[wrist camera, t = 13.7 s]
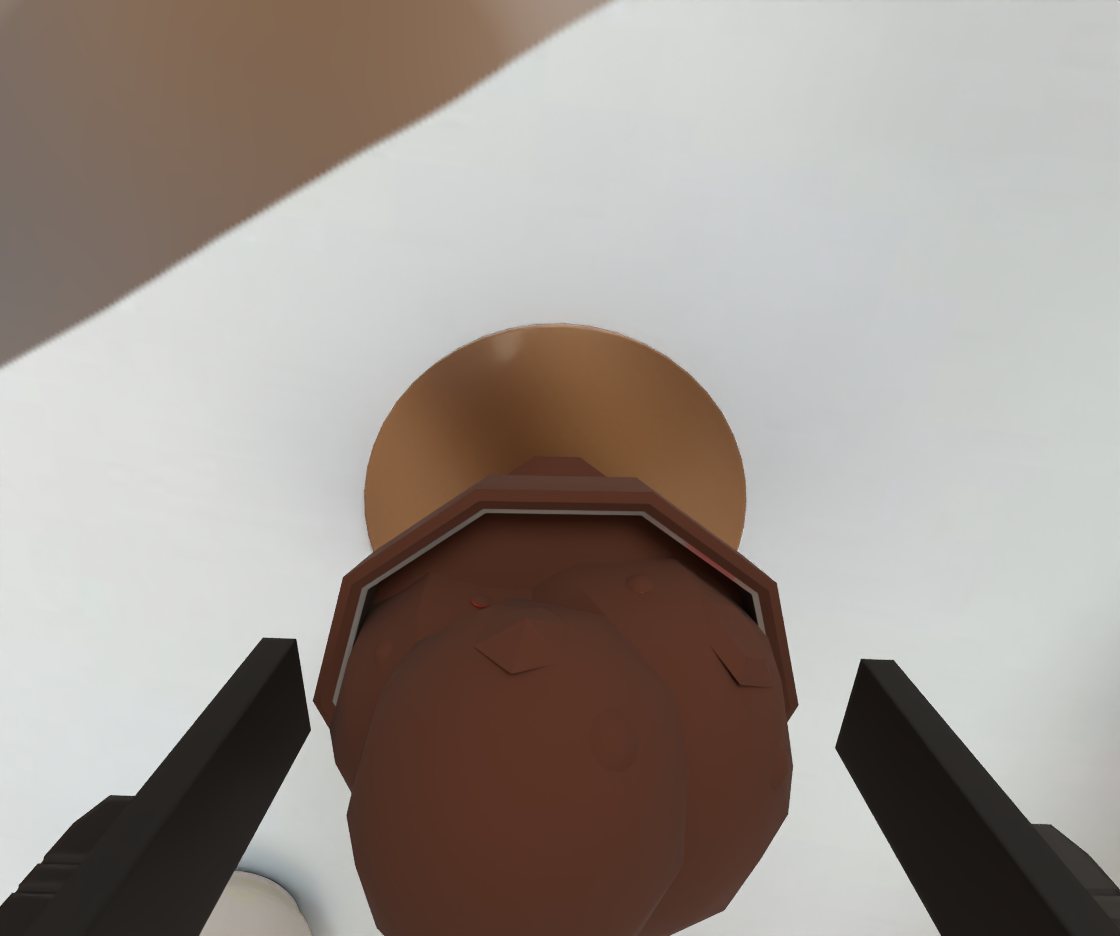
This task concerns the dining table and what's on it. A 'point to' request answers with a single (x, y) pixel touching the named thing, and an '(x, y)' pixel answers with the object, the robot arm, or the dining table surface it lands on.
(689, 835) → the ice cream bowl
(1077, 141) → the dining table surface
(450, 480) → the brown round coaster
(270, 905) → the teacup
